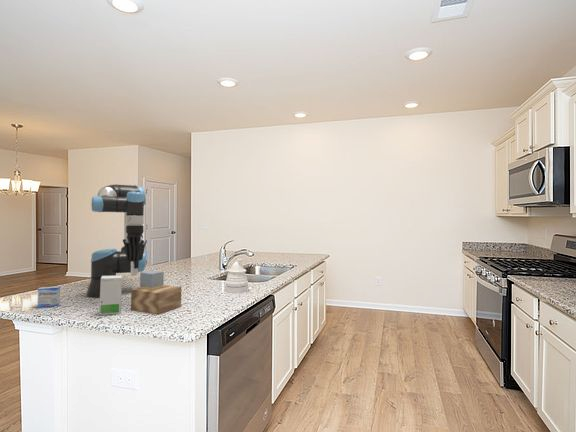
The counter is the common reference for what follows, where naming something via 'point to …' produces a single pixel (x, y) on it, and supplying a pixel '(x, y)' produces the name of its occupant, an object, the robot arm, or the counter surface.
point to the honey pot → (236, 279)
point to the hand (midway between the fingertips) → (134, 275)
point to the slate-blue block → (151, 280)
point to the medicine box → (48, 296)
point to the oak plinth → (156, 299)
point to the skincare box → (110, 295)
